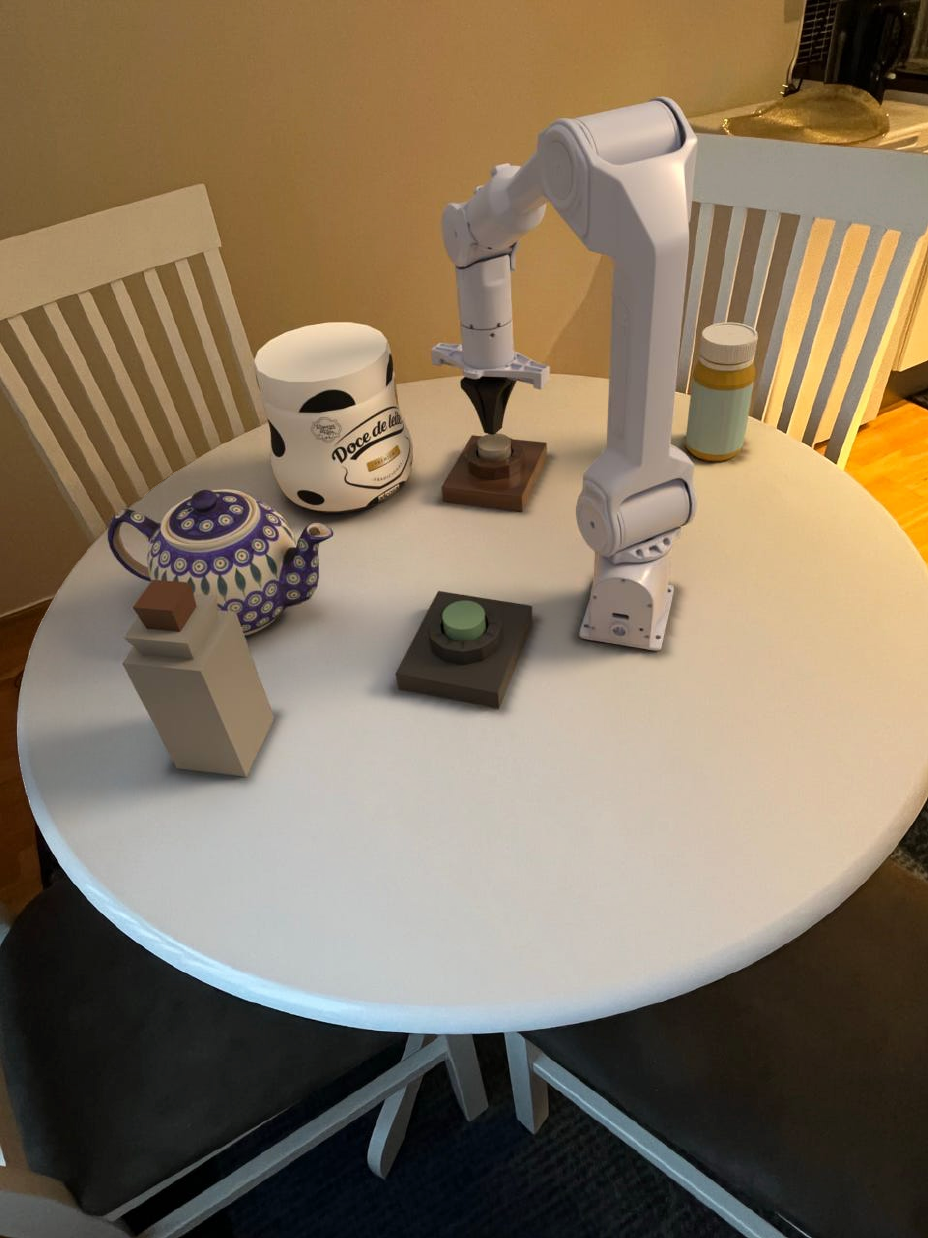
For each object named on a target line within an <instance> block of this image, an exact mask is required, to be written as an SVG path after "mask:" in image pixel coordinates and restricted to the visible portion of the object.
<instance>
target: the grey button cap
mask: <svg viewBox="0 0 928 1238" xmlns="http://www.w3.org/2000/svg"><path fill="white" fill-rule="evenodd" d="M482 436H483V437H481V438H480V439H479V440H478V456H479V458H480V459H481V460H483V461H489V462H497V461H503V460H505V459H507V458H509V457H510V456H511V440H510V438H511V437H509V435H506V434H503V433H498V432H497V433H496V434H495V435H490V434H485V435H482Z"/></svg>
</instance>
